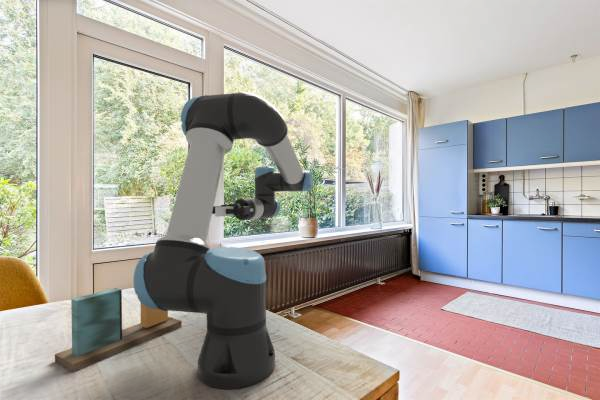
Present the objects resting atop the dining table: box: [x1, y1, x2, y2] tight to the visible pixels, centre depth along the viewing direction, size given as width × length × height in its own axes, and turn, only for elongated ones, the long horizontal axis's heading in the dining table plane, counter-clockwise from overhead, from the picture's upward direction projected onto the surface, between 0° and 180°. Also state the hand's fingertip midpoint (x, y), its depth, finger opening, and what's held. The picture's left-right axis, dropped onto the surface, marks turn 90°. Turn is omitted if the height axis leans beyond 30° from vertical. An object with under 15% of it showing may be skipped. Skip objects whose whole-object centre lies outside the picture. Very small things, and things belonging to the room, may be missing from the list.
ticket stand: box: [54, 287, 182, 373], centre depth 73 cm, size 25×8×13 cm, turn 148°
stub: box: [139, 301, 169, 328], centre depth 79 cm, size 6×2×11 cm, turn 148°
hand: (199, 211), depth 91 cm, fingers open, 13 cm apart
